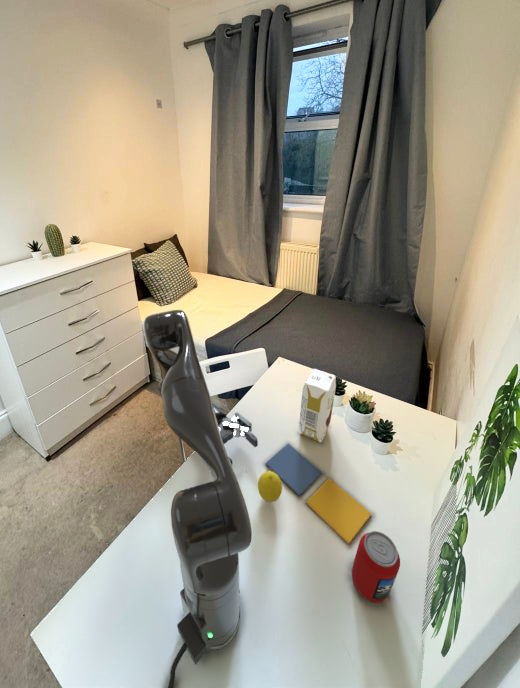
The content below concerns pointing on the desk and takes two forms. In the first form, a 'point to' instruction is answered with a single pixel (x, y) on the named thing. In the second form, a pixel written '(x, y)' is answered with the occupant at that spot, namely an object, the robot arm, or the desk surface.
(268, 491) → the lemon
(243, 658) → the desk surface
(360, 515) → the mustard mat
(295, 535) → the desk surface
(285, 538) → the desk surface
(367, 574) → the beverage can
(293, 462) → the slate mat
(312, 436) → the juice carton
